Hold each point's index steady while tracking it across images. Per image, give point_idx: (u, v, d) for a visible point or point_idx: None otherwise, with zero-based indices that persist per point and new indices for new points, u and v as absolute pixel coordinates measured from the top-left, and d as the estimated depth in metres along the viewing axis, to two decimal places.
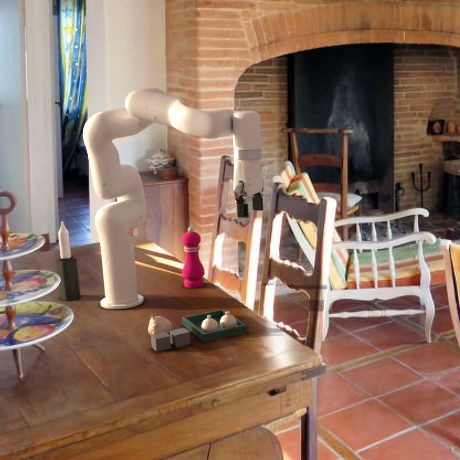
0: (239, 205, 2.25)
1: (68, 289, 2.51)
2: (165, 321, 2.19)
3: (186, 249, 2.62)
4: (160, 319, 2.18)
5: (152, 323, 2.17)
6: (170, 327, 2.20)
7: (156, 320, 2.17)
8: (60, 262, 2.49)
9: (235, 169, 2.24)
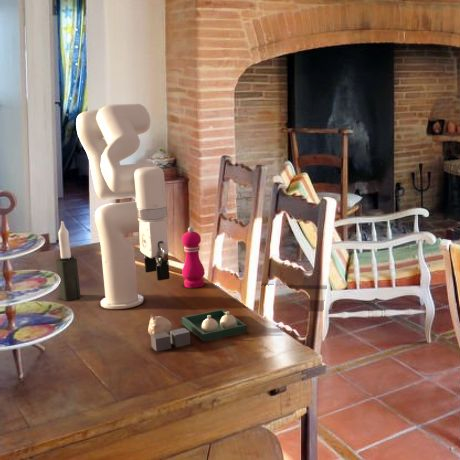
0: (161, 267, 2.11)
1: (68, 289, 2.51)
2: (165, 321, 2.19)
3: (186, 249, 2.62)
4: (160, 319, 2.18)
5: (152, 323, 2.17)
6: (170, 327, 2.20)
7: (156, 320, 2.17)
8: (60, 262, 2.49)
9: (152, 230, 2.09)
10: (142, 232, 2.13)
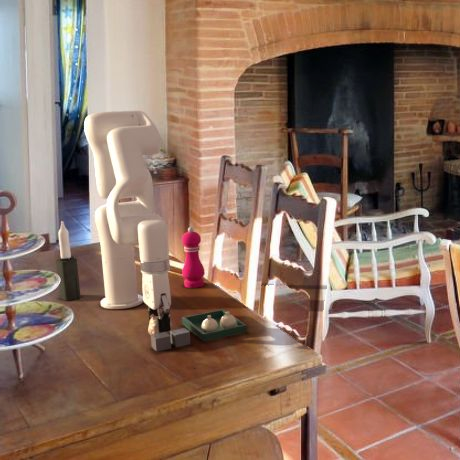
0: (163, 320, 2.15)
1: (68, 289, 2.51)
2: None
3: (186, 249, 2.62)
4: None
5: (152, 323, 2.17)
6: None
7: (156, 320, 2.17)
8: (60, 262, 2.49)
9: (155, 283, 2.12)
10: (145, 283, 2.16)
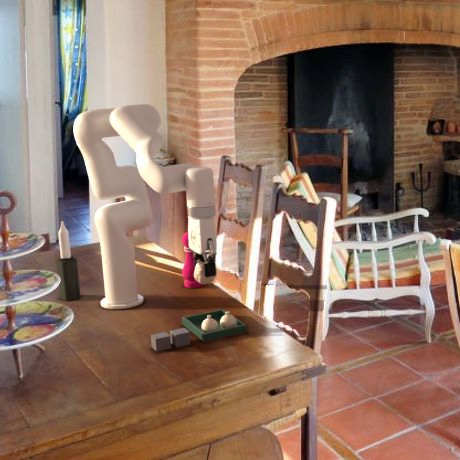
0: (209, 264, 2.21)
1: (68, 289, 2.51)
2: None
3: (186, 249, 2.62)
4: None
5: (198, 268, 2.23)
6: None
7: (202, 265, 2.23)
8: (60, 262, 2.49)
9: (202, 227, 2.18)
10: (191, 229, 2.22)
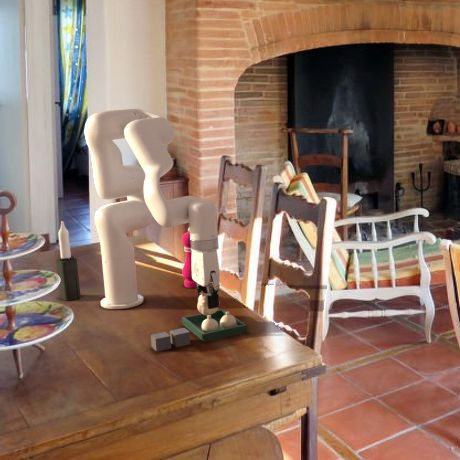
0: (212, 296, 2.23)
1: (68, 289, 2.51)
2: None
3: (186, 249, 2.62)
4: None
5: (201, 300, 2.25)
6: None
7: (205, 297, 2.25)
8: (60, 262, 2.49)
9: (205, 260, 2.20)
10: (195, 261, 2.24)
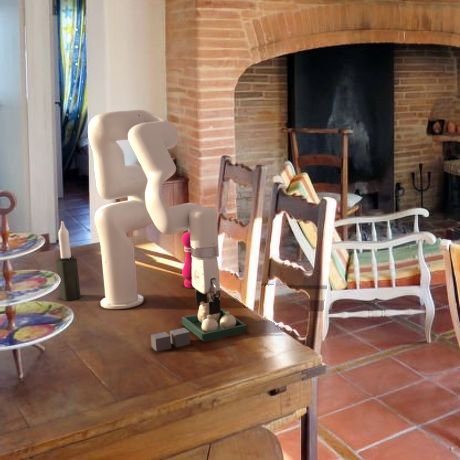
0: (213, 302, 2.23)
1: (68, 289, 2.51)
2: None
3: (186, 249, 2.62)
4: None
5: (202, 310, 2.26)
6: (218, 314, 2.29)
7: (206, 307, 2.26)
8: (60, 262, 2.49)
9: (205, 268, 2.21)
10: (195, 268, 2.25)
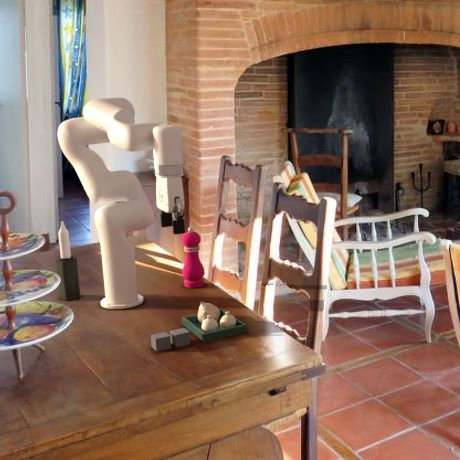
0: (177, 222, 2.19)
1: (68, 289, 2.51)
2: (214, 308, 2.28)
3: (186, 249, 2.62)
4: (209, 306, 2.27)
5: (202, 310, 2.26)
6: (218, 314, 2.29)
7: (206, 307, 2.26)
8: (60, 262, 2.49)
9: (169, 185, 2.17)
10: (159, 188, 2.21)
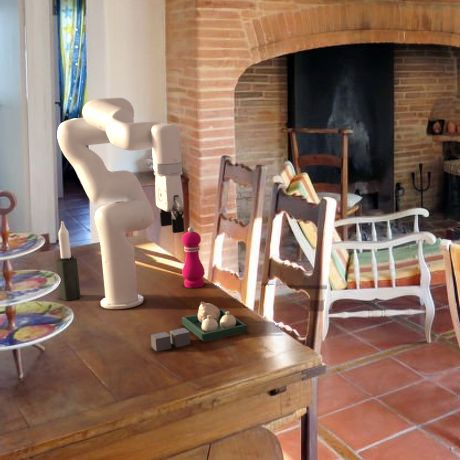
0: (177, 220, 2.19)
1: (68, 289, 2.51)
2: (214, 308, 2.28)
3: (186, 249, 2.62)
4: (209, 306, 2.27)
5: (202, 310, 2.26)
6: (218, 314, 2.29)
7: (206, 307, 2.26)
8: (60, 262, 2.49)
9: (168, 184, 2.17)
10: (158, 186, 2.21)
